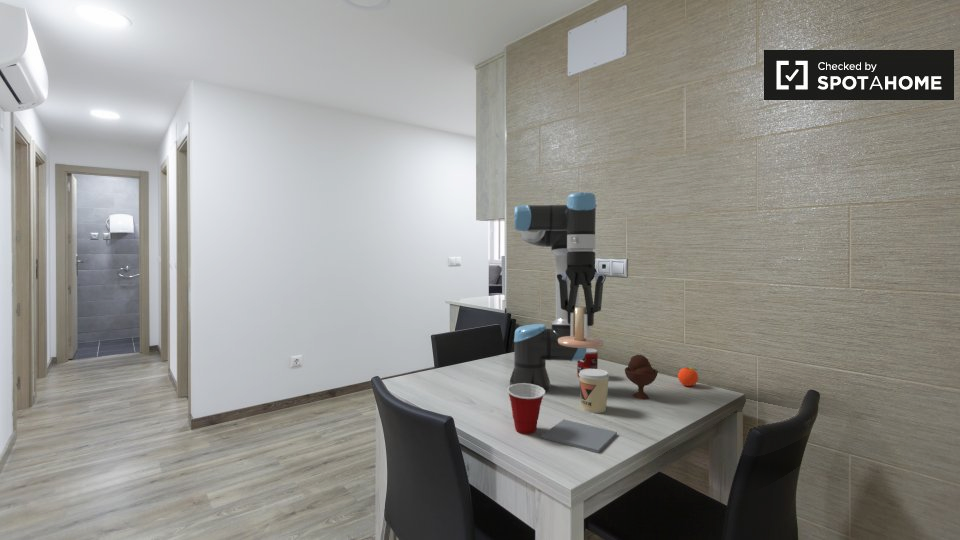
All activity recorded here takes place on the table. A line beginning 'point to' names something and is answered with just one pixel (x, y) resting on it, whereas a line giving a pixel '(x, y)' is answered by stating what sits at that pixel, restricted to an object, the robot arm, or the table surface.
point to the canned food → (588, 361)
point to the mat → (580, 435)
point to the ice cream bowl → (640, 374)
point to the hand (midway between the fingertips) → (580, 336)
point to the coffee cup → (593, 390)
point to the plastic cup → (525, 406)
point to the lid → (580, 333)
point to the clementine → (688, 376)
